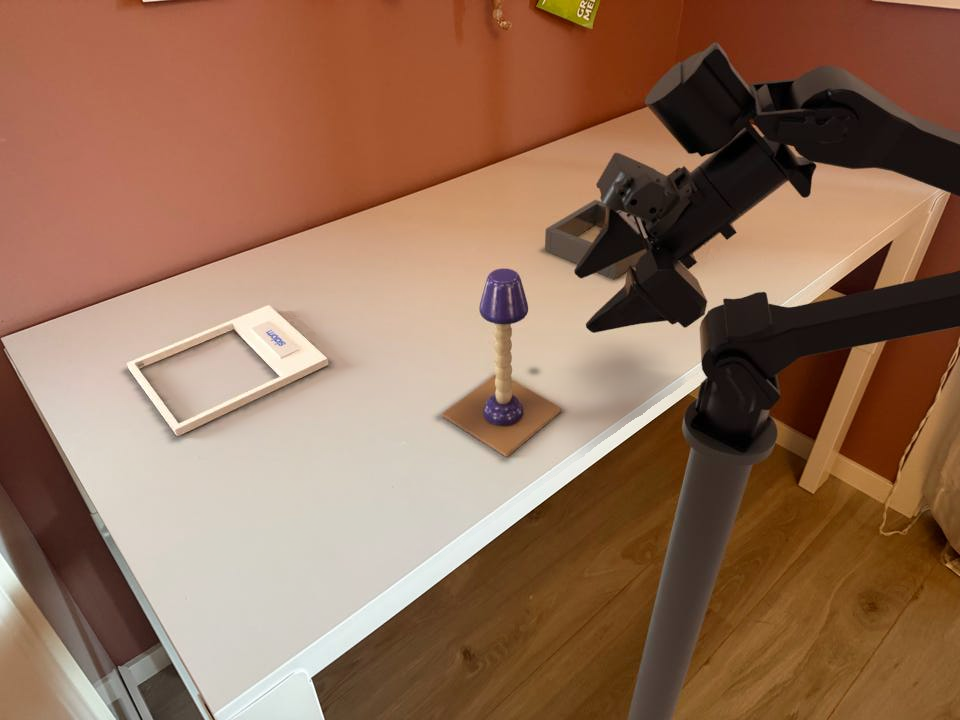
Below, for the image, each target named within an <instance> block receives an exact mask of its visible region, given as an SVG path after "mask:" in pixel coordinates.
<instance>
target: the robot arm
mask: <svg viewBox="0 0 960 720" xmlns="http://www.w3.org/2000/svg"><path fill="white" fill-rule="evenodd" d="M725 51H726V50H724V49H723V48H722V46H721V45H720V44H719V42H713V43H711V44H710V45H709V46H708V47H707V48H706V49H704V50H703V51H699V52H697V53H695V54H692V55H691V56H689V57H688V58H686V59H685V60H684V61H683V62H681V61H678V62H677V63H676V64H674V66H672V67H671V68H670V69H669V70H668V71H667V72H666V73H665V74H664V75H663V76H661V78H659V80H658V81H657V82H656V83H655V84H654V86H653V87H652V88H651V89H650V91H648V93H647V95H646V97H645V99H644V104H645V106H646V107H647V108H648V109H649V110H650V111H651V113H652V114H653V115H654V116H655V117H656V118H657V119H658V120H659V122H660V123H661V124H662V125H663V126H664V127H665V129H666V130H667V131H668V132H669V133H670V134H671V135H672V137H673V138H674V139H675V140H676V141H677V142H678V143H679V145H680V146H681V147H682V148H683V150H685V152H686V153H687V154H690V155H693V154H698V155H699V156H700V157H705V156H706V155H710V156H708V157H707V158H706V159H705V160H704V161H702V162H701V163H700V164H699V165H698V166H697V167H696V168H694V169H693V170H692V171H690V170H689V169H688V168H687V167H686V166H685V165H684V166H681V167H680V166H679V167H677V168H676V169H674V170H673V171H671V173H669V174H667V175H666V174H664V173H662V172H661V171H658V170H656V168H653V167H652V166H650V165H647V164H645V163H642V162H641V161H638V160H636V159H634V158H631V157H629V156H627V155H625V154H623V153H621V152H614V153H613V154H612V156H611V158H610V160H609V161H608V162H607V165H606V167H605V168H604V170H603V172H602V173H601V175H600V177H599V178H598V179H597V180H598V181H597V182H596V188H597V189H599V192H600V201H601V202H603V204H605V205H606V218H605V223H604V225H603V227H601V229H600V230H599V232H598V233H597V236H596V237H595V238H594V240H593V241H592V242H591V243H592V244H591V246H590V247H589V249H588V250H587V252H586V253H585V255H584V256H583V258H582V259H581V261H580V262H579V264H577V265H576V267H575V268H574V270H573V272H574V274H575V275H576V276H577V278H579V279H584V278H586V277H590V276H591V275H595V274H596V273H598V271H600V270H602V269H604V268H606V267H609V266H611V265H613V264H615V263H617V262H619V261H621V260H623V259H625V258H627V257H629V256H631V255H633V254H635V253H637V252H639V251H642V250H644V249H646V251H647V252H646V253H645V254H643V255H642V256H641V257H640V259H639V261H638V262H637V264H636V265H634V267H631V266H630V265H629V266H628V269H627V271H626V277H625V283H624V285H623V286H622V288H620V290H619V291H617V292H616V294H614V295H613V296H612V297H611V298H610V299H608V301H607V302H605V304H603V305H602V306H601V307H599V309H598V310H597V311H596V312H595V313H594V314H593V315H592V316H591V317H590V319H589V320H588V321H587V322H586V323H585V328H586V330H588V331H589V332H590V333H594V334H595V333H601V332H607V331H611V330H615V329H620V328H626V327H630V326H636V325H642V324H650V323H651V324H653V323H661V322H668V323H669V324H671V325H675V324H677V323H678V324H679V325H681V327H683V328H684V329H685V328H688V327H689V326H691V325H692V324H693V323H695V322H697V321H698V320H699V319H701V318H702V317H703V318H702V319H701V321H700V325H699V341H700V342H699V343H700V360H701V361H700V362H701V363H700V364H701V370H702V373H703V374H704V376H705V378H704V379H703V380H702V381H701V382H700V385H699V386H700V387H699V391H698V394H697V398H696V399H697V403H696V407H695V411H696V412H698V414H697V415H696V416H695V417H694V418H693V419H692V420H691V422H690V426H691V427H693V428H695V429H697V430H699V431H700V432H702V433H704V434H706V435H708V436H710V437H712V438H714V439H716V440H718V441H720V442H722V443H724V444H726V445H728V446H730V447H732V448H734V449H736V450H738V451H739V452H742V453H745V452H747V451H748V449H749V448H750V447H751V446H752V445H753V444H754V442H755V441H756V440H757V439H758V438H759V437H760V435H761V434H762V433H763V432H764V431H765V429H766V428H767V427H768V426H769V425H770V423H771V418H770V417H768V414H769V415H770V411H771V410H772V408H773V407H774V406H775V405H776V404H777V403H778V402H779V400H780V399H781V392H780V385H779V381H778V380H779V379H778V374H779V373H781V372H782V371H783V370H786V369H787V368H788V367H790V366H791V365H792V364H794V363H795V362H796V361H797V360H799V359H802V358H805V357H809V356H815V355H820V354H825V353H830V352H831V353H832V352H836V351H841V350H846V349H851V348H856V347H861V346H867V345H873V344H879V343H882V342H888V341H893V340H899V339H904V338H908V337H914V336H920V335H924V334H925V335H926V334H931V333H934V332H940V331H945V330H946V331H947V330H951V329H957V328H960V269H959V270H956V271H952V272H948V273H943V274H938V275H934V276H929V277H924V278H920V279H915V280H911V281H906V282H902V283H898V284H897V283H896V284H893V285H888V286H883V287H878V288H874V289H869V290H865V291H860V292H856V293H851V294H846V295H842V296H837V297H832V298H828V299H824V300H819V301H814V302H810V303H806V304H801V305H796V306H783V305H778V304H773V303H769V299H768V294H767V292H765V291H758V292H754V293H751V294H749V295H746V296H743V297H738V298H728V297H727V298H723V299H722V304H720V305H717V306H714V307H712V308H711V309H709V310H708V311H707V314H706V310H707V306H708V300H707V297H706V295H705V293H704V291H703V289H702V286H701V284H700V282H699V280H698V278H697V277H695V276H694V275H693V274H692V273H691V272H690V271H689V269H691V268H692V267H694V266H695V265H696V264H698V261H697V259H696V256H695V255H694V253H696V252H697V251H699V250H700V249H702V247H704V246H705V245H706V244H707V243H709V242H711V240H713V239H714V238H716V237H717V236H718V235H719V234H721V236H722V237H723V238H724V239H725V240H726V241H728V240H729V239H730V238H732V237H733V236H734V235H736V234H737V230H736V229H735V227H734V225H733V224H734V223H735V222H737V221H738V220H739V219H740V218H742V217H743V216H744V215H745V214H747V213H749V211H751V210H752V209H753V208H755V207H756V206H757V205H759V204H760V203H761V202H763V201H764V200H766V198H768V197H769V196H771V195H772V194H773V193H774V192H776V191H777V190H778V189H779V188H781V187H782V186H783V185H785V184H786V183H787V182H789V183H790V184H791V186H792V187H793V188H794V190H795V191H796V192H797V193H798V194H799V196H800V197H802V198H804V199H806V198H808V197H810V196H811V193H812V185H813V184H812V182H813V176H814V173H815V171H816V169H817V164H823V165H826V166H827V165H828V166H833V167H838V168H845V169H850V170H862V169H863V170H865V169H879V170H885V171H890V172H894V173H895V174H898V175H901V176H905V177H907V178H909V179H912V180H915V181H917V182H920V183H923V184H925V185H929V186H931V187H933V188H936V189H939V190H941V191H944V192H947V193H949V194H952V195H955V196H957V197H960V132H959V131H956V130H953V129H951V128H948V127H946V126H943V125H941V124H938V123H935V122H932V121H930V120H927V119H924V118H921V117H919V116H917V115H914V114H911V113H909V112H908V111H907V110H905V109H903V108H902V107H900V106H899V105H897V104H895V103H894V102H893V101H891V100H890V99H889V98H888V97H886V96H885V95H884V94H883V93H881V92H880V91H879V90H877V89H876V88H874V87H873V86H871V85H869V84H868V83H866V82H865V81H863V80H862V79H860V78H859V77H857V76H855V75H854V74H852V73H850V72H849V71H848V70H846V69H843V68H842V67H840V66H836V65H835V66H834V65H829V64H828V65H820V66H818V67H816V68H814V69H813V68H812V69H811V70H808V71H806V72H804V73H803V74H801V75H800V76H799V77H797V78H789V79H788V78H787V79H779V80H769V81H760V82H759V81H758V82H750V83H748V84H747V82H746V81H745V80H744V78H743V77H742V76H741V74H739V72H738V71H737V70H736V69H735V67H734V66H733V64H732V63H731V62H730V59H729V56H728V55H727V53H726V52H725ZM750 121H752V122H753V124H754V125H755V126H753V124H752V123H751V122H750ZM755 127H756V128H757V129H758V130H759V132H760V133H761V134H760V133H759V132H758V131H757V129H756V128H755ZM762 135H763V136H762ZM789 146H791V147H793V148H794V150H795V151H796V152H797V153H798V155H799V156H797V155H796V154H795V152H793V150H792V149H791V148H790V147H789ZM816 163H817V164H816ZM694 423H695V424H694Z"/></svg>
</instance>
